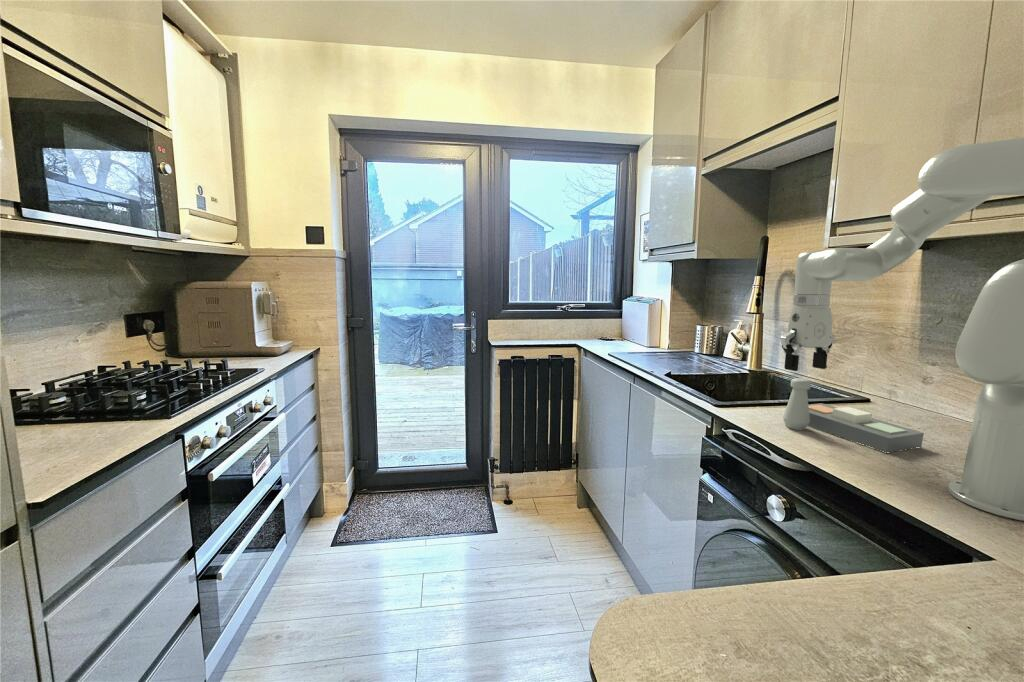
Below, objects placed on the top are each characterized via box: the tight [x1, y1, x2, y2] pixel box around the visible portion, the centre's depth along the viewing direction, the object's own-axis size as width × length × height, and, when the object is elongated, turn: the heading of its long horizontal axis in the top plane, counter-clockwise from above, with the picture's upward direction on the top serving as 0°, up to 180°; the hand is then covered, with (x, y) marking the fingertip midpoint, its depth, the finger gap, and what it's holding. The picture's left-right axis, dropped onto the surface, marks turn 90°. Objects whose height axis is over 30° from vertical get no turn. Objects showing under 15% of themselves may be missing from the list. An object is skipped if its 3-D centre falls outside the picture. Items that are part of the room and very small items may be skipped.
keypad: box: [807, 402, 925, 454], centre depth 109 cm, size 24×12×4 cm, turn 18°
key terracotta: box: [808, 405, 833, 414], centre depth 116 cm, size 6×6×4 cm
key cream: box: [832, 406, 873, 424], centre depth 109 cm, size 6×6×4 cm
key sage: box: [864, 422, 906, 435], centre depth 102 cm, size 6×6×4 cm
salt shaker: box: [782, 377, 812, 431], centre depth 111 cm, size 6×6×13 cm
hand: (805, 369), depth 109 cm, fingers open, 9 cm apart
